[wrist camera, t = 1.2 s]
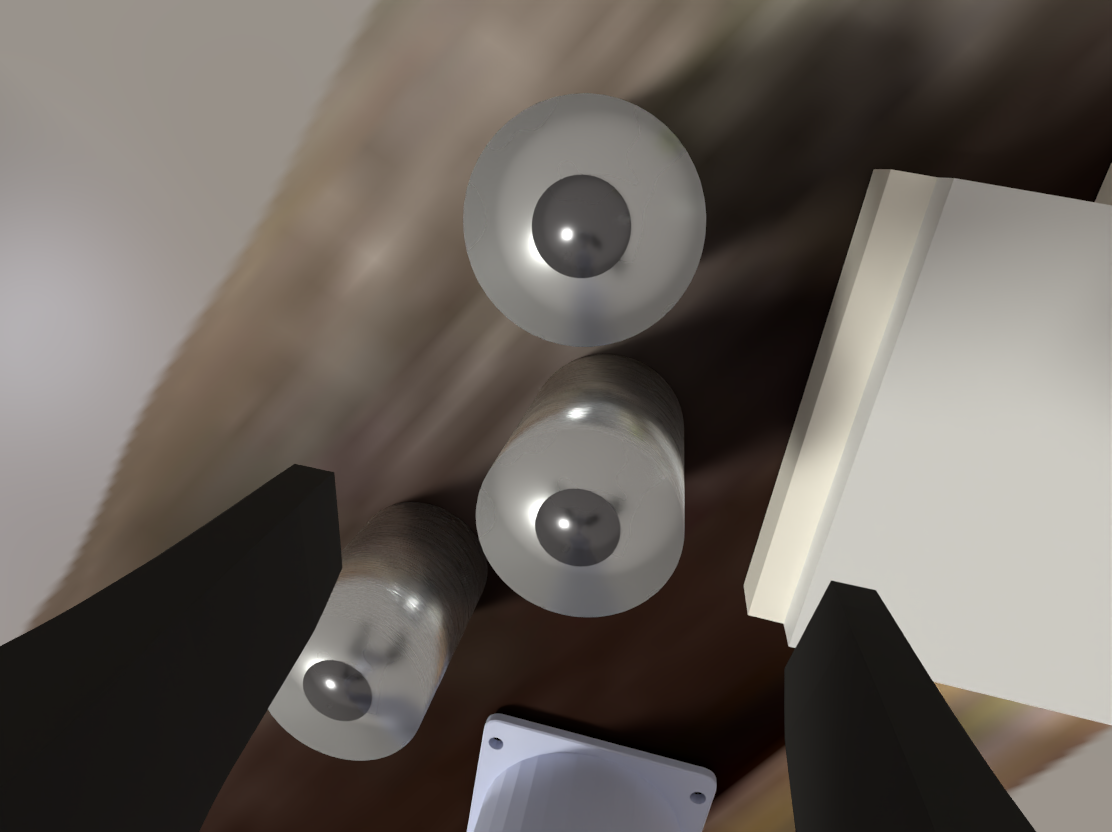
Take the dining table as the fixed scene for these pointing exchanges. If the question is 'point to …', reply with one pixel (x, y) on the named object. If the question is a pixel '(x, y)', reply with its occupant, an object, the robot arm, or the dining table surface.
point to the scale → (961, 441)
